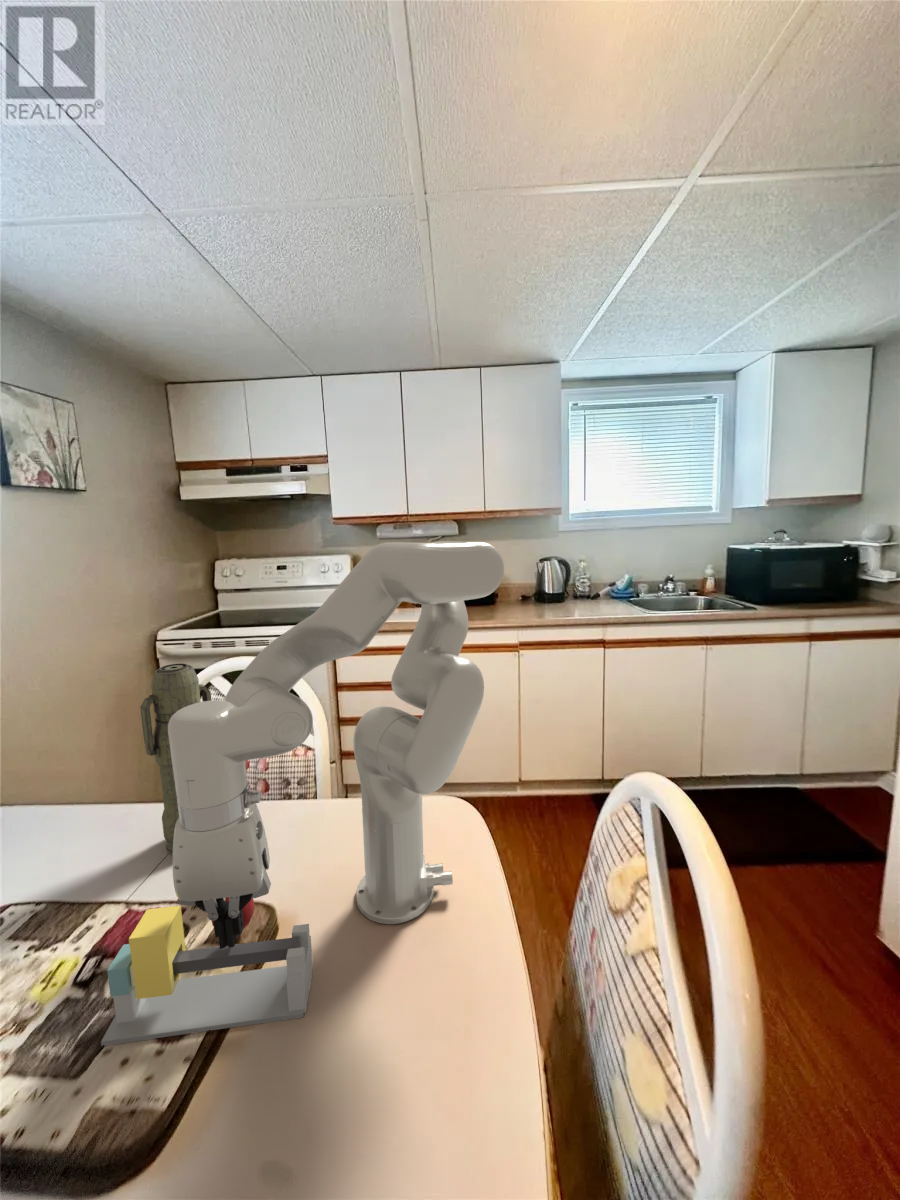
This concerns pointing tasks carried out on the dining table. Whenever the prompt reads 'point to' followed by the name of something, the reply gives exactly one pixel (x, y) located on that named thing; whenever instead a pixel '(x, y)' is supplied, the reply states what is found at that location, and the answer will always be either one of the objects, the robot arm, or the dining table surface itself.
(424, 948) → the dining table surface
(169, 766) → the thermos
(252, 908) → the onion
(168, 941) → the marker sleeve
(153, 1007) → the grey long frame
